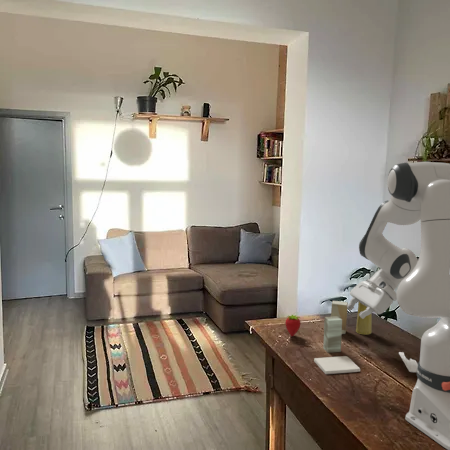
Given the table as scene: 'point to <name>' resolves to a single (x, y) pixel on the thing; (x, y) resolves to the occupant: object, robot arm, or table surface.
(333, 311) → the skincare box
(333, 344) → the handle block
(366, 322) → the vase
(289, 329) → the strawberry
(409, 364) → the butcher knife
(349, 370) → the ceramic tile
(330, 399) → the table surface
